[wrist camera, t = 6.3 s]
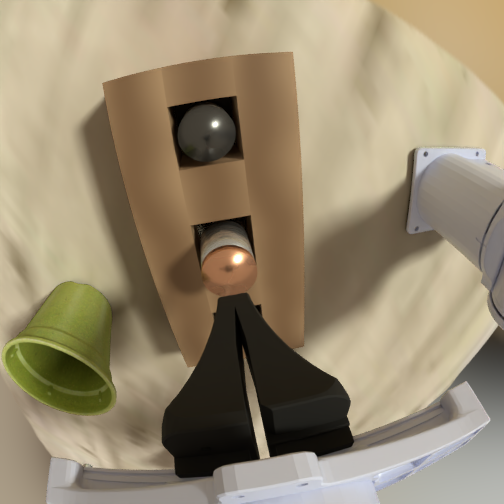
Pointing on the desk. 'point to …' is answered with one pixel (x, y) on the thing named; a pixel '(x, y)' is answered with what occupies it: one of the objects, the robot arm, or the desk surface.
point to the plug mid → (227, 259)
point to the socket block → (215, 186)
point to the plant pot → (66, 352)
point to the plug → (206, 132)
